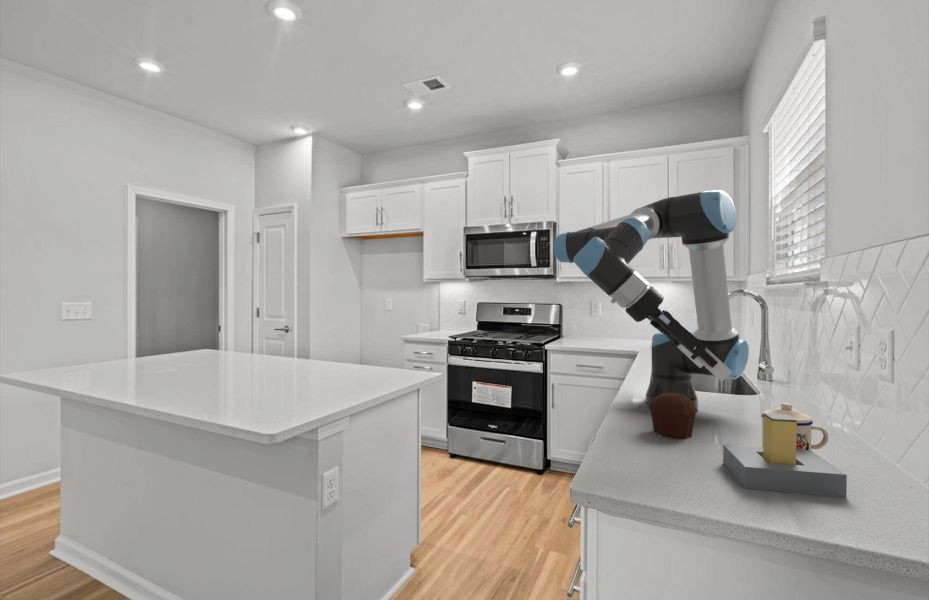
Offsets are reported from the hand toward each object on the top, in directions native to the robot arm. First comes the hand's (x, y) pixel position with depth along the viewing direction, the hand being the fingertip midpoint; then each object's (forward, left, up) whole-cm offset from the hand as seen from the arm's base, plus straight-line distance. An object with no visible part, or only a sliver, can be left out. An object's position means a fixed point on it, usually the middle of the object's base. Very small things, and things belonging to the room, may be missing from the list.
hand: (715, 369), depth 92 cm
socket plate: (+3, +10, -20) cm, 23 cm away
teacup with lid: (-10, +18, -20) cm, 29 cm away
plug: (+3, +10, -19) cm, 22 cm away
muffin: (-22, -4, -20) cm, 30 cm away
